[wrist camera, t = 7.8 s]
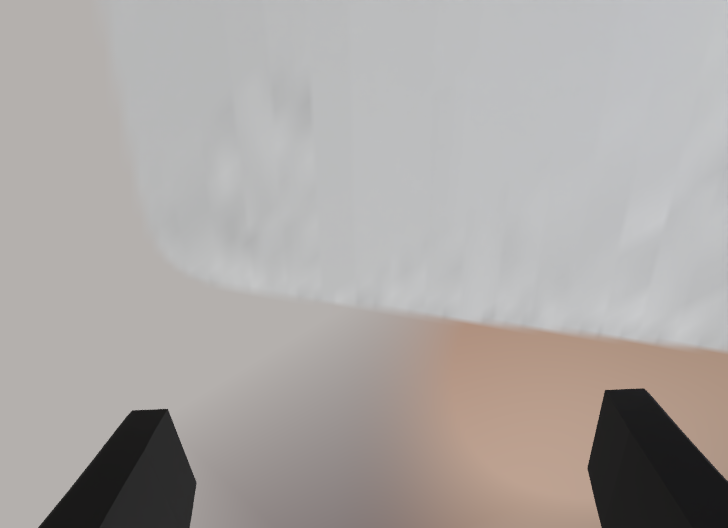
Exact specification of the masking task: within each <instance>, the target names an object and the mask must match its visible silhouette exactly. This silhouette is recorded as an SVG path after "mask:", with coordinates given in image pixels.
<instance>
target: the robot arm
mask: <svg viewBox="0 0 728 528" xmlns="http://www.w3.org/2000/svg"><path fill="white" fill-rule="evenodd" d="M588 472H589V477H590V480H591V485H592V490H593V494H594V498H595V503H596V507H597V511H598V514H599V518H600V522H601V526H602V528H728V481H727V480H726V479H725V478H724V477H723V476H722V475H721V474H720V473H719V472H718V470H717V469H716V468H715V467H714V466H713V465H712V464H711V463H710V462H709V461H708V460H707V458H706V457H705V456H704V455H703V454H702V453H701V452H700V451H699V450H698V448H697V447H696V446H695V445H694V444H693V443H692V442H691V441H690V440H689V438H687V436H686V435H685V434H684V433H683V432H682V430H680V428H679V427H678V426H677V425H676V424H675V423H674V421H673V420H672V419H671V418H670V417H669V416H668V415H667V413H666V412H665V411H664V410H663V409H662V408H661V407H660V405H659V404H658V403H657V402H656V401H655V400H654V398H653V397H652V396H651V395H650V394H649V393H648V392H647V391H646V390H645V389H621V390H605V393H604V397H603V402H602V407H601V411H600V415H599V420H598V424H597V429H596V433H595V437H594V442H593V446H592V451H591V455H590V460H589V464H588ZM195 489H196V480H195V478H194V475H193V473H192V470H191V468H190V465H189V462H188V460H187V457H186V455H185V452H184V450H183V447H182V444H181V442H180V440H179V437H178V435H177V432H176V429H175V427H174V424H173V422H172V419H171V416H170V414H169V411H168V409H158V410H135V411H132V412H131V413H130V414H129V415H128V416H127V417H126V418H125V420H124V421H123V422H122V423H121V425H120V426H119V427H118V428H117V430H116V431H115V432H114V434H113V435H112V436H111V437H110V439H109V440H108V441H107V443H106V444H105V445H104V446H103V448H102V449H101V451H100V452H99V453H98V454H97V455H96V457H95V458H94V460H93V461H92V462H91V463H90V465H89V466H88V467H87V468H86V469H85V471H84V472H83V473H82V474H81V476H80V477H79V478H78V480H77V481H76V482H75V483H74V485H73V486H72V487H71V488H70V490H69V491H68V492H67V493H66V494H65V496H64V497H63V498H62V499H61V501H60V502H59V503H58V504H57V505H56V507H55V508H54V509H53V510H52V512H51V513H50V514H49V515H48V516H47V518H46V519H45V520H44V522H43V523H42V524H41V525H40V526H39V527H38V528H189V527H190V521H191V516H192V509H193V502H194V495H195Z"/></svg>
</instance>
